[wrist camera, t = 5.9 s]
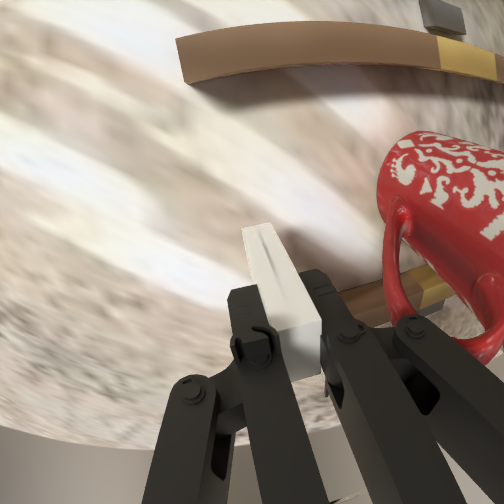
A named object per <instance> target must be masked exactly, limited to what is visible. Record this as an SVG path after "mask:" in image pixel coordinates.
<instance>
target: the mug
mask: <svg viewBox="0 0 504 504" xmlns="http://www.w3.org/2000/svg"><path fill="white" fill-rule="evenodd" d="M377 203H378V208H379V212H380V214H381V216H382V219H383V220H384V222H385V223H386V227H385V232H384V240H383V254H382V262H383V287H384V295H385V301H386V306H387V310H388V314H389V316H390V319H391V322H392V325H393V327H396V323H397V321H398V320H399V319H400V318H401V317H403V316H406V315H411V314H416V315H418V313H417V312H416V311H415V309H414V308H413V307H412V305H411V304H410V302H409V300H408V298H407V297H406V294H405V292H404V289H403V286H402V283H401V279H400V271H399V251H400V244H401V239H402V240H403V241H404V242H406V243H407V244H408V245H409V246H410V247H411V248H412V249H413V250H414V251H415V252H416V253H417V254H418V255H419V256H420V257H421V258H422V259H423V260H424V261H425V262H426V263H427V264H428V265H429V266H430V267H431V268H432V269H433V270H434V271H435V272H436V273H437V274H438V275H439V276H440V277H441V278H442V279H443V281H444V282H445V283H446V284H447V285H448V286H449V287H450V288H451V289H452V290H453V291H454V292H455V294H456V295H457V296H458V297H459V298H460V299H461V300H462V302H463V303H464V304H465V305H466V306H467V307H468V308H469V310H470V311H471V312H472V313H473V314H474V315H475V317H476V318H477V319H478V320H479V322H480V323H481V324H482V325H483V327H484V328H485V332H484V333H482V334H481V335H479V336H477V337H475V338H471V339H457V338H455V337H451V338H452V339H453V340H455V341H456V342H457V343H458V344H459V345H461V346H462V347H463V348H464V349H465V350H467V351H468V352H469V353H470V354H471V355H472V356H474V357H475V358H476V359H477V360H478V361H479V362H481V363H482V364H483V365H484V366H485V365H486V364H488V363H489V362H490V361H491V360H492V358H493V357H494V356H495V355H496V354H497V352H498V351H499V349H500V348H501V349H502V351H503V352H504V153H503V152H500V151H498V150H494V149H491V148H488V147H484V146H481V145H478V144H475V143H471V142H468V141H464V140H461V139H457V138H454V137H450V136H446V135H442V134H438V133H435V132H430V131H416V132H413V133H410V134H408V135H406V136H405V137H403V138H402V139H401V140H399V141H398V142H397V143H396V144H395V145H394V147H393V148H392V149H391V150H390V152H389V153H388V155H387V156H386V158H385V160H384V163H383V165H382V167H381V170H380V173H379V177H378V183H377Z"/></svg>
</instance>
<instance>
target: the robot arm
mask: <svg viewBox="0 0 504 504" xmlns="http://www.w3.org/2000/svg"><path fill="white" fill-rule="evenodd" d="M241 230H242V235H243V240H244V245H245V250H246V255H247V260H248V265H249V270H250V275H251V279H252V282H253V285H250V286H246V287H242V288H237V289H233V290H231V292H230V294H229V296H228V299H227V302H228V308H229V314H230V320H231V327H232V333H233V336H232V338H231V340H230V348H231V351H232V354H233V357H234V360H233V361H232V363H231V364H230V365H229V366H228V367H227V368H226V369H225V370H223V371H222V372H220V373H218V374H216V375H214V376H212V377H210V378H208V377H206V376H203V375H198V374H195V375H188V376H186V377H184V378H182V379H180V380H179V381H178V382H177V383H176V384H175V385H174V386H173V388H172V390H171V392H170V396H169V399H168V403H167V407H166V410H165V414H164V417H163V421H162V425H161V428H160V432H159V436H158V440H157V443H156V447H155V451H154V455H153V459H152V463H151V467H150V471H149V475H148V479H147V483H146V487H145V491H144V495H143V500H142V504H227V499H228V491H229V483H230V474H231V467H232V459H233V451H234V443H235V435H236V432H237V431H239V430H241V429H243V428H245V427H246V426H247V429H248V434H249V440H250V445H251V450H252V455H253V460H254V465H255V470H256V474H257V479H258V484H259V489H260V494H261V498H262V503H263V504H329V501H328V498H327V495H326V491H325V488H324V485H323V482H322V479H321V476H320V473H319V469H318V466H317V463H316V460H315V457H314V454H313V451H312V448H311V444H310V441H309V438H308V435H307V432H306V429H305V425H304V422H303V419H302V416H301V413H300V410H299V406H298V403H297V400H296V397H295V394H294V391H293V388H292V384H291V382H292V381H296V380H300V379H304V378H307V377H311V376H314V375H317V374H321V367H322V369H323V372H324V374H325V376H326V377H325V397H328V395H330V397H331V400H332V402H333V405H334V407H335V410H336V412H337V414H338V417H339V419H340V422H341V424H342V427H343V429H344V432H345V434H346V437H347V439H348V442H349V444H350V446H351V449H352V451H353V454H354V457H355V459H356V462H357V464H358V467H359V469H360V472H361V474H362V477H363V480H364V482H365V484H366V487H367V490H368V492H369V495H370V498H371V500H372V502H373V504H467V503H466V501H465V498H464V496H463V494H462V492H461V490H460V488H459V486H458V484H457V482H456V479H455V477H454V475H453V473H452V471H451V469H450V467H449V465H448V463H447V461H446V459H445V457H444V456H443V453H442V452H441V450H440V448H439V446H438V444H437V442H438V443H439V444H440V445H441V447H442V448H443V449H444V450H445V451H446V452H447V453H448V454H449V455H450V456H451V457H452V458H453V459H454V460H455V461H456V463H458V465H459V466H460V467H461V468H462V469H463V470H464V471H465V472H466V473H467V474H468V475H469V476H470V477H471V479H472V480H473V481H474V482H475V483H476V484H477V485H478V486H479V487H480V488H481V489H482V490H483V492H484V493H485V494H486V495H487V496H488V497H489V498H490V499H491V500H492V501H493V502H494V503H495V504H504V383H503V382H502V381H501V380H500V379H499V378H498V377H496V376H495V375H494V374H493V373H492V372H491V371H490V370H489V369H487V368H486V367H485V366H484V365H483V364H482V363H481V362H479V361H478V360H477V359H476V358H475V357H474V356H472V355H471V354H470V353H469V352H468V351H467V350H465V349H464V348H463V347H462V346H461V345H459V344H458V343H457V342H456V341H455V340H453V339H452V338H451V337H450V336H448V335H447V334H446V333H445V332H444V331H442V330H441V329H440V328H439V327H437V326H436V325H435V324H434V323H432V322H431V321H430V320H429V319H427V318H425V317H423V316H421V315H416V314H411V315H406V316H403V317H401V318H400V319H399V320H398V321H397V323H396V327H389V328H371V327H368V326H367V325H366V324H365V323H364V322H362V321H360V320H358V319H355V318H354V317H353V316H352V314H351V312H350V311H349V309H348V308H347V306H346V304H345V303H344V301H343V300H342V298H341V297H340V295H339V293H338V292H337V291H336V289H335V287H334V286H333V285H332V283H331V281H330V279H329V278H328V276H327V275H326V274H324V273H323V272H321V271H320V270H318V269H314V270H310V271H306V272H301V273H297V271H296V269H295V267H294V265H293V263H292V261H291V260H290V258H289V256H288V254H287V252H286V250H285V248H284V246H283V245H282V243H281V241H280V239H279V237H278V235H277V233H276V232H275V230H274V228H273V226H272V224H271V222H268V223H263V224H258V225H254V226H249V227H245V228H241ZM436 441H437V442H436Z"/></svg>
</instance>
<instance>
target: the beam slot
mask: <svg viewBox="0 0 504 504" xmlns="http://www.w3.org/2000/svg"><path fill="white" fill-rule="evenodd" d="M419 4H420V9H421V13H422V18H423V23H424V27H427V28H431V29H435V30H439V31H443V32H446V33H450V34H453V35H466V30H465V25H464V20H463V15H462V11H461V8H458V7H456V6H453V5H451V4H448V3H445V2H442V1H439V0H419ZM175 40H176V44H177V49H178V54H179V59H180V64H181V68H182V73H183V78H184V82H185V83H186V84H192V83H196V82H200V81H205V80H209V79H214V78H219V77H224V76H229V75H235V74H241V73H247V72H254V71H261V70H269V69H277V68H287V67H298V66H313V65H341V64H360V65H387V66H401V67H412V68H421V69H429V70H436V71H443V72H449V73H455V74H460V75H465V76H470V77H475V78H479V79H483V80H488V81H491V82H495V83H499V84H503V85H504V57H502V56H500V55H497V54H495V53H492V52H489V51H487V50H484V49H481V48H478V47H475V46H472V45H469V44H466V43H463V42H459V41H456V40H452V39H449V38H445V37H441V36H437V35H433V34H428V33H424V32H419V31H414V30H408V29H403V28H397V27H390V26H382V25H374V24H364V23H352V22H333V21H296V22H276V23H264V24H254V25H245V26H238V27H231V28H224V29H218V30H213V31H208V32H203V33H198V34H193V35H189V36H184V37H180V38H176V39H175ZM400 279H401V283H402V286H403V289H404V292H405V294H406V297H407V298H408V300H409V302H410V304H411V305H412V307H413V308H414V309H415V311H416V312H417V313H418V315H421V316H423V317H424V316H427V315H429V314H431V313H434V312H436V311H438V310H440V309H442V307H443V304H444V301H445V299H446V298H448V297H450V296H452V295H455V292H454V291H453V290H452V289H451V288H450V287H449V286H448V285H447V284H446V283H445V282H444V281H443V279H442V278H441V277H440V276H439V275H438V274H437V273H436V272H435V271H434V270H433V269H432V268H431V267H430V266H429V265H428V264H427V265H425V266H422V267H419V268H416V269H413V270H410V271H407V272H404V273H401V274H400ZM339 295H340V297H341V298H342V300H343V301H344V303H345V304H346V306H347V308H348V309H349V311H350V312H351V314H352V316H353V317H354V318H355V319H358V320H360V321H362V322H364V323H365V324H366V325H367V326H368V327H371V328H373V327H376V326H378V325H381V324H384V323H387V322H389V321H391V319H390V316H389V314H388V310H387V306H386V301H385V295H384V287H383V279H382V280H379V281H376V282H373V283H369V284H366V285H363V286H359V287H356V288H353V289H349V290H346V291H342V292H339Z"/></svg>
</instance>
